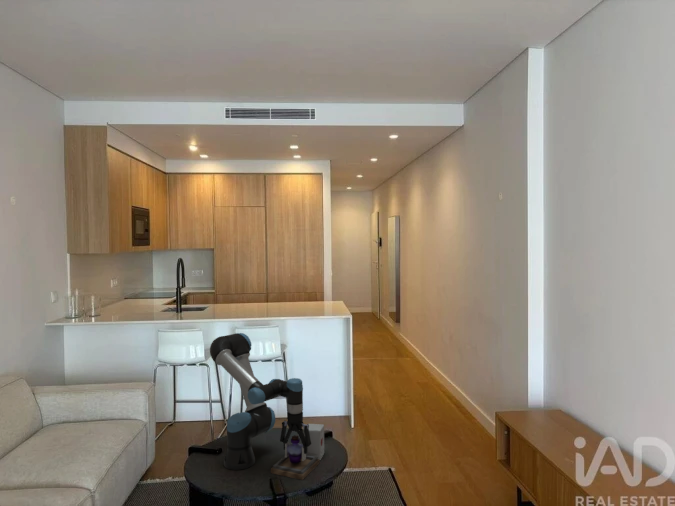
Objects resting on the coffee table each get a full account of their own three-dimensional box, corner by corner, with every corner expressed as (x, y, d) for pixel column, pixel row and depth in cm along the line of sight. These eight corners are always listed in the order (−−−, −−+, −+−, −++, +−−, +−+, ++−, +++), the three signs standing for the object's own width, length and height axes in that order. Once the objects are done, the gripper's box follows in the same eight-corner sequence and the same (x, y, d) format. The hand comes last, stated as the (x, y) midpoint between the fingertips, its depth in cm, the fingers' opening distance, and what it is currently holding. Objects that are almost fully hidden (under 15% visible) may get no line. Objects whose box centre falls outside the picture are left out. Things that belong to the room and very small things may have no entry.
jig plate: (270, 473, 219) (270, 466, 219) (289, 457, 236) (289, 451, 236) (302, 479, 212) (302, 473, 212) (319, 463, 229) (319, 456, 229)
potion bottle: (302, 455, 229) (302, 431, 229) (306, 463, 221) (305, 438, 221) (285, 458, 227) (284, 434, 227) (288, 466, 219) (288, 441, 218)
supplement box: (320, 460, 231) (320, 431, 231) (303, 459, 233) (303, 429, 233) (324, 452, 240) (324, 424, 240) (308, 451, 242) (307, 423, 242)
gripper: (272, 411, 225) (272, 457, 225) (311, 417, 216) (311, 465, 216) (280, 406, 231) (280, 451, 232) (318, 411, 223) (318, 458, 223)
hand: (295, 458), depth 224 cm, fingers closed on potion bottle, 8 cm apart
